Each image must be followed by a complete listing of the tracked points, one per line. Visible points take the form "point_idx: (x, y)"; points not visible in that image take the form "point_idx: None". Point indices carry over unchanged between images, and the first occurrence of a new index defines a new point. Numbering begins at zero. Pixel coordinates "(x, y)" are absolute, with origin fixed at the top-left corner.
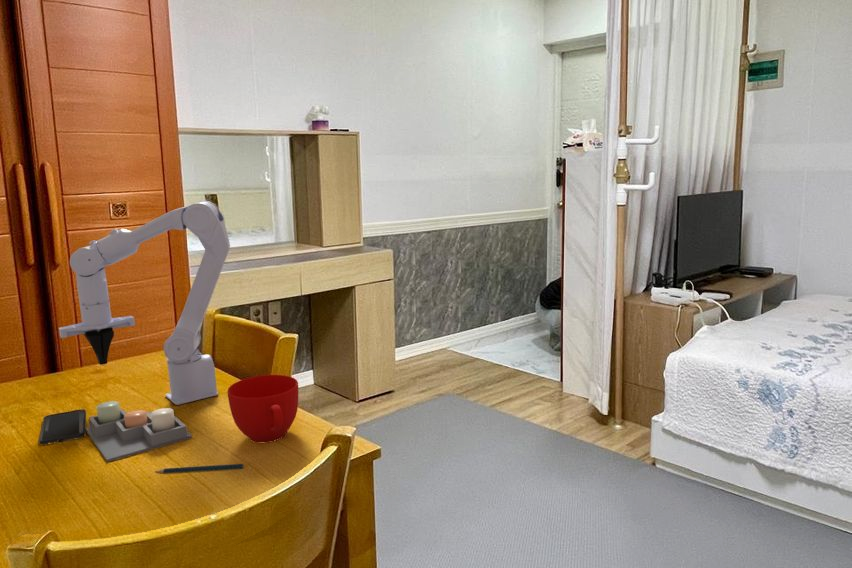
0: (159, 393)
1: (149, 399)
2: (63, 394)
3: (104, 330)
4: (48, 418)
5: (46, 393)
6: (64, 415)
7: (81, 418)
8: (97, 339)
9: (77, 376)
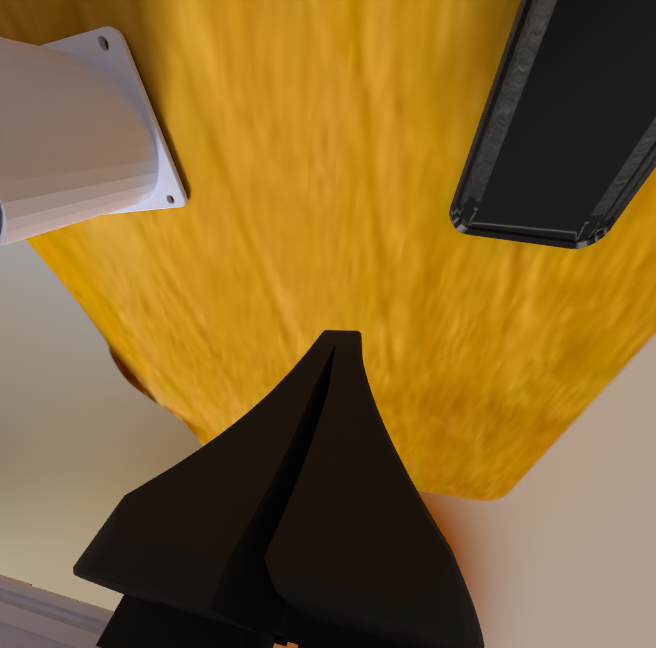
0: (214, 250)
1: (240, 211)
2: (440, 401)
3: (201, 643)
4: (597, 214)
5: (467, 428)
6: (535, 207)
7: (506, 104)
8: (329, 519)
9: None
